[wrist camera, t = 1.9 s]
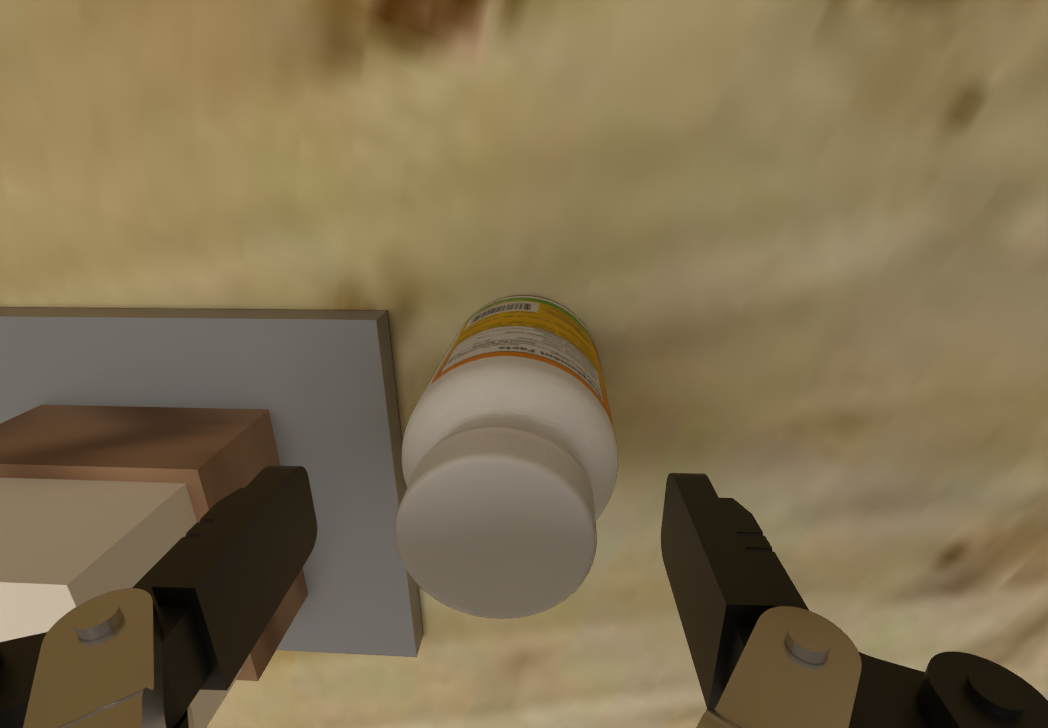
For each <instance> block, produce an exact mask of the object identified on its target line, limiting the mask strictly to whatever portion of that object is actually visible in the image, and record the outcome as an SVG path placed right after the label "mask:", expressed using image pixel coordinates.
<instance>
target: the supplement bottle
mask: <svg viewBox="0 0 1048 728" xmlns="http://www.w3.org/2000/svg"><path fill="white" fill-rule="evenodd" d="M402 469H403V475H404V479H405V482H406V485H407V490H406V492H405V494H404V497H403V499H402V501H401V504H400V506H399V509H398V513H397V517H396V528H395V533H396V544H397V549H398V552H399V555H400V558H401V560H402V562H403V564H404V566H405V568H406V569H407V571H408V573H409V574H410V575H411V576H412V578H413V579H414V580H415V582H416V583H417V584H418V585H419V586H420V587H421V588H422V589H423V590H424V591H426V592H427V593H428V594H429V595H431V596H432V597H433V598H435V599H436V600H438V601H440V602H441V603H443V604H445V605H446V606H448V607H451V608H453V609H455V610H458V611H461V612H464V613H467V614H470V615H474V616H479V617H485V618H498V619H506V618H520V617H525V616H530V615H533V614H536V613H540V612H542V611H545V610H547V609H549V608H551V607H553V606H555V605H557V604H559V603H560V602H562V601H564V600H565V599H566V598H568V597H569V596H570V595H571V594H572V593H573V592H575V591H576V589H577V588H578V587H579V586H580V585H581V584H582V582H583V581H584V579H585V578H586V576H587V574H588V573H589V571H590V569H591V566H592V563H593V560H594V556H595V552H596V544H597V536H596V521H595V520H596V519H597V518H598V517H599V516H600V515H601V513H602V512H603V510H604V508H605V507H606V505H607V503H608V501H609V499H610V497H611V495H612V492H613V489H614V485H615V482H616V477H617V470H618V453H617V445H616V438H615V433H614V428H613V423H612V419H611V414H610V409H609V404H608V400H607V395H606V390H605V386H604V381H603V377H602V372H601V367H600V363H599V358H598V354H597V351H596V347H595V345H594V342H593V340H592V337H591V336H590V334H589V332H588V330H587V329H586V327H585V326H584V325H583V324H582V322H581V321H580V320H579V319H578V318H577V317H576V316H575V315H574V314H572V313H571V312H570V311H569V310H567V309H566V308H564V307H563V306H561V305H559V304H557V303H555V302H553V301H550V300H547V299H544V298H539V297H533V296H512V297H506V298H502V299H499V300H496V301H494V302H492V303H490V304H488V305H486V306H484V307H483V308H481V309H479V310H478V311H477V312H476V313H474V314H473V315H472V316H471V317H470V318H469V319H468V320H467V322H466V323H465V324H464V325H463V327H462V328H461V329H460V331H459V333H458V334H457V336H456V338H455V339H454V341H453V343H452V344H451V346H450V348H449V350H448V351H447V353H446V355H445V356H444V358H443V360H442V362H441V363H440V365H439V367H438V369H437V370H436V372H435V374H434V375H433V377H432V379H431V381H430V382H429V384H428V386H427V387H426V389H425V391H424V392H423V394H422V396H421V398H420V399H419V401H418V403H417V405H416V407H415V408H414V410H413V412H412V414H411V416H410V419H409V421H408V424H407V426H406V430H405V433H404V437H403V443H402Z"/></svg>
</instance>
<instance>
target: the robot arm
mask: <svg viewBox="0 0 1048 728" xmlns="http://www.w3.org/2000/svg"><path fill="white" fill-rule="evenodd" d="M316 538H317V520H316V514H315V509H314V504H313V498H312V493H311V488H310V482H309V477H308V473H307V471H306V469H305V468H304V467H302V466H266V467H264V468H263V469H262V470H261V471H260V472H259V473H258V474H257V475H256V477H255V478H254V479H253V480H252V481H251V482H250V483H249V484H248V485H247V486H246V487H245V488H239V489H238V490H236V491H234V492H233V493H231V494H229V495H228V496H226V497H224V498H223V499H221V500H219V501H218V502H216V503H215V504H214V505H213V506H212V507H211V508H210V509H209V511H208V512H207V513H206V514H205V515H204V516H203V517H202V518H201V519H200V522H199V523H196V524H195V525H194V526H193V527H192V528H191V529H190V530H189V531H188V532H187V533H186V536H185V537H182V538H181V539H180V540H179V541H178V542H177V543H176V544H175V545H174V546H173V547H172V548H171V549H170V550H169V551H168V552H167V553H166V554H165V555H164V556H163V557H162V558H161V559H160V560H159V561H158V562H157V563H156V564H155V565H154V566H153V567H152V568H151V569H150V570H149V571H148V572H147V573H146V574H145V575H144V576H143V577H142V578H141V579H140V580H139V581H138V582H137V583H136V584H135V585H134V586H133V587H132V588H127V589H119V590H115V591H111V592H107V593H104V594H101V595H99V596H96V597H94V598H92V599H90V600H88V601H86V602H84V603H82V604H80V605H79V606H77V607H75V608H74V609H72V610H71V611H69V612H68V613H66V614H65V615H64V616H63V617H61V618H60V619H59V620H58V621H57V622H56V623H55V624H54V625H53V626H52V627H51V628H50V630H49V631H48V632H45V633H40V634H35V635H31V636H26V637H22V638H17V639H12V640H8V641H3V642H0V728H194V717H193V712H192V709H191V706H190V704H191V702H192V701H193V699H194V698H195V696H196V695H197V693H198V692H199V690H226V691H227V690H228V688H229V687H230V685H231V683H232V682H233V680H234V678H235V677H236V675H237V674H238V672H239V670H240V669H241V667H242V665H243V664H244V662H245V660H246V659H247V657H248V656H249V654H250V652H251V651H252V649H253V647H254V646H255V644H256V643H257V641H258V639H259V638H260V636H261V634H262V633H263V631H264V629H265V628H266V626H267V625H268V623H269V621H270V620H271V618H272V616H273V615H274V613H275V612H276V610H277V608H278V607H279V605H280V603H281V602H282V600H283V598H284V597H285V595H286V594H287V592H288V590H289V589H290V587H291V585H292V584H293V582H294V581H295V579H296V577H297V576H298V574H299V572H300V571H301V569H302V567H303V566H304V564H305V563H306V561H307V559H308V558H309V556H310V554H311V553H312V551H313V548H314V546H315V542H316ZM661 549H662V556H663V561H664V565H665V568H666V571H667V575H668V578H669V582H670V585H671V588H672V592H673V595H674V598H675V602H676V605H677V609H678V612H679V615H680V619H681V622H682V625H683V629H684V632H685V635H686V639H687V642H688V646H689V649H690V652H691V656H692V659H693V662H694V666H695V669H696V673H697V676H698V679H699V683H700V686H701V689H702V693H703V696H704V699H705V703H706V706H707V710H706V711H705V713H704V714H703V716H702V718H701V720H700V721H699V723H698V725H697V727H696V728H1048V701H1047V700H1046V699H1045V698H1044V697H1043V695H1042V694H1041V693H1039V692H1038V691H1037V690H1036V689H1035V688H1034V687H1032V686H1031V685H1030V684H1029V683H1027V682H1026V681H1025V680H1023V679H1022V678H1021V677H1019V676H1017V675H1016V674H1014V673H1013V672H1011V671H1009V670H1008V669H1006V668H1004V667H1002V666H1000V665H998V664H996V663H994V662H992V661H989V660H987V659H984V658H981V657H979V656H976V655H972V654H968V653H962V652H943V653H940V654H937V655H935V656H934V657H933V658H932V659H931V660H930V662H929V664H928V666H927V669H926V671H925V672H922V671H918V670H915V669H911V668H908V667H904V666H901V665H897V664H894V663H890V662H887V661H883V660H880V659H877V658H874V657H871V656H868V655H865V654H863V653H860V652H858V650H857V648H856V647H855V645H854V643H853V642H852V641H851V639H850V638H849V637H848V636H847V635H846V634H845V633H844V632H843V631H842V630H841V629H840V628H839V627H837V626H836V625H835V624H834V623H832V622H830V621H829V620H827V619H826V618H824V617H822V616H820V615H818V614H816V613H814V612H811V611H809V609H808V608H807V606H806V604H805V603H804V601H803V599H802V598H801V596H800V594H799V593H798V591H797V589H796V588H795V586H794V584H793V582H792V581H791V579H790V577H789V576H788V574H787V572H786V571H785V569H784V567H783V566H782V564H781V562H780V561H779V559H778V557H777V556H776V554H775V552H772V547H771V545H770V544H769V542H768V540H767V539H766V537H765V536H763V532H762V530H761V529H760V527H759V525H758V524H757V522H756V520H755V518H754V517H753V515H752V514H751V513H750V512H749V511H748V510H746V509H745V508H744V507H743V506H741V505H740V504H739V503H738V502H737V501H735V500H734V499H733V498H719V497H718V496H717V494H716V492H715V490H714V488H713V486H712V484H711V482H710V480H709V478H708V477H707V475H706V474H686V473H670V474H669V475H668V478H667V483H666V492H665V501H664V510H663V519H662V528H661Z"/></svg>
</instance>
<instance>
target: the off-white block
mask: <svg viewBox="0 0 1048 728" xmlns="http://www.w3.org/2000/svg"><path fill="white" fill-rule="evenodd" d="M196 523H197V520H196V516H195V513H194V510H193V506H192V503H191V500H190V496H189V493H188V490H187V486H186V483H161V482H128V481H96V480H63V479H30V478H0V642H3V641H8V640H12V639H17V638H22V637H26V636H31V635H35V634H40V633H45V632H48V631H49V630H50V628H51V627H52V626H53V625H54V624H55V623H56V622H57V621H58V620H59V619H60V618H61V617H63V616H64V615H65V614H66V613H68V612H69V611H71V610H72V609H74V608H75V607H77V606H79V605H80V604H82V603H84V602H86V601H88V600H90V599H92V598H94V597H96V596H99V595H101V594H104V593H107V592H111V591H115V590H119V589H127V588H132V587H133V586H134V585H135V584H136V583H137V582H138V581H139V580H140V579H141V578H142V577H143V576H144V575H145V574H146V573H147V572H148V571H149V570H150V569H151V568H152V567H153V566H154V565H155V564H156V563H157V562H158V561H159V560H160V559H161V558H162V557H163V556H164V555H165V554H166V553H167V552H168V551H169V550H170V549H171V548H172V547H173V546H174V545H175V544H176V543H177V542H178V541H179V540H180V539H181V538H182V537H185V536H186V533H187V532H188V531H189V530H190V529H191V528H192V527H193V526H194V525H195V524H196ZM241 671H242V669H240V670H239V672H238V674H237V675H236V677H235V678H234V680H233V682H232V683H231V685H230V687H229V688H228V690H227V691H226V690H199V692H198V693H197V695H196V696H195V698H194V699H193V701H192V702H191V704H190V706H191V709H192V712H193V717H194V728H206V727H207V725H208V724H209V722H210V721H211V719H212V717H213V716H214V714H215V713H216V711H217V709H218V708H219V706H220V705H221V703H222V701H223V700H224V698H225V697H226V695H227V693H228V692H229V690H230V689H231V687H232V685H233V684H234V682H235V681H236V679H237V677H238V676H239V674H240V673H241Z"/></svg>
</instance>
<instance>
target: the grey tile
mask: <svg viewBox="0 0 1048 728" xmlns="http://www.w3.org/2000/svg"><path fill="white" fill-rule="evenodd" d="M39 405H81V406H128V407H176V408H224V409H268V410H269V414H270V419H271V424H272V428H273V433H274V437H275V442H276V447H277V451H278V456H279V461H280V465H281V466H302V467H304V468H305V469H306V471H307V473H308V477H309V482H310V488H311V493H312V498H313V504H314V509H315V514H316V520H317V538H316V542H315V546H314V548H313V551H312V553H311V554H310V556H309V558H308V559H307V561H306V563H305V564H304V566H303V572H304V576H305V581H306V586H307V590H308V596H307V598H306V599H305V601H304V603H303V604H302V606H301V608H300V610H299V611H298V613H297V615H296V616H295V618H294V620H293V622H292V623H291V625H290V627H289V629H288V630H287V632H286V634H285V635H284V637H283V639H282V641H281V642H280V644H279V646H278V647H277V649H276V650H287V651H307V652H326V653H346V654H366V655H385V656H405V657H417V654H418V651H419V648H420V644H421V641H422V637H423V628H422V619H421V610H420V601H419V592H418V584H417V583H416V582H415V580H414V579H413V578H412V576H411V575H410V574H409V573H408V571H407V569H406V568H405V566H404V564H403V562H402V560H401V558H400V555H399V552H398V549H397V544H396V533H395V528H396V517H397V513H398V509H399V506H400V504H401V501H402V499H403V497H404V494H405V492H406V490H407V485H406V482H405V479H404V475H403V469H402V439H401V430H400V421H399V412H398V403H397V394H396V385H395V376H394V367H393V358H392V349H391V340H390V331H389V323H388V314H387V311H384V310H262V309H141V308H20V307H0V424H1V423H3V422H5V421H7V420H9V419H11V418H14V417H16V416H18V415H20V414H22V413H24V412H27V411H29V410H31V409H33V408H35V407H37V406H39Z"/></svg>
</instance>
